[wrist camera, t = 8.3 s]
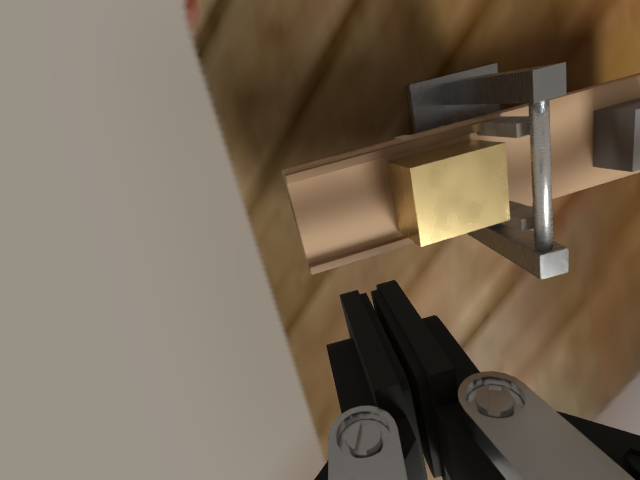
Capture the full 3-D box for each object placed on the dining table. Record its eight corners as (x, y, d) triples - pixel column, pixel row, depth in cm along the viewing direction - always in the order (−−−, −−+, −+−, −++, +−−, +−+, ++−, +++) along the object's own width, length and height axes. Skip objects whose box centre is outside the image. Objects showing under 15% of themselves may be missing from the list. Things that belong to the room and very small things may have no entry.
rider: (386, 161, 25) (409, 168, 22) (470, 139, 26) (505, 142, 22) (398, 230, 26) (421, 246, 23) (477, 207, 27) (510, 219, 24)
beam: (280, 168, 25) (292, 179, 20) (650, 68, 28) (733, 58, 24) (307, 268, 27) (323, 299, 23) (644, 165, 31) (718, 173, 26)
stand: (405, 85, 30) (482, 72, 19) (491, 64, 30) (614, 39, 20) (428, 239, 34) (500, 297, 24) (502, 218, 35) (607, 268, 24)
